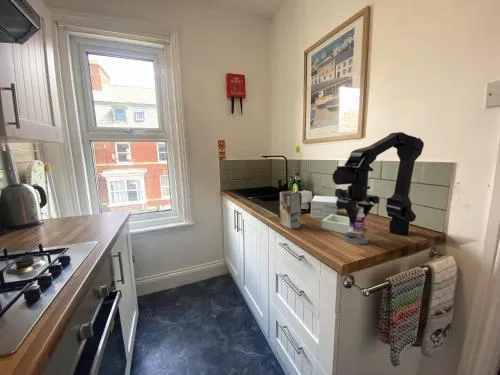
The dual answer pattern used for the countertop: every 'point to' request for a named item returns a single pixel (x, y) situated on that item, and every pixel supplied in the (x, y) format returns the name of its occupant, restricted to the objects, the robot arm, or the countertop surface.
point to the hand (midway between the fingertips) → (356, 222)
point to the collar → (355, 241)
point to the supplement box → (323, 206)
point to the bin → (336, 224)
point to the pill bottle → (358, 222)
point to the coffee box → (290, 209)
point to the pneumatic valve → (306, 198)
